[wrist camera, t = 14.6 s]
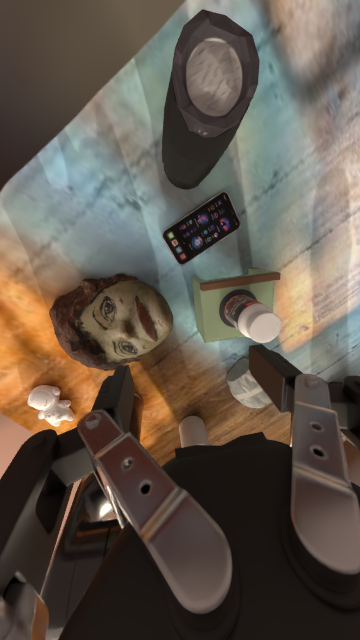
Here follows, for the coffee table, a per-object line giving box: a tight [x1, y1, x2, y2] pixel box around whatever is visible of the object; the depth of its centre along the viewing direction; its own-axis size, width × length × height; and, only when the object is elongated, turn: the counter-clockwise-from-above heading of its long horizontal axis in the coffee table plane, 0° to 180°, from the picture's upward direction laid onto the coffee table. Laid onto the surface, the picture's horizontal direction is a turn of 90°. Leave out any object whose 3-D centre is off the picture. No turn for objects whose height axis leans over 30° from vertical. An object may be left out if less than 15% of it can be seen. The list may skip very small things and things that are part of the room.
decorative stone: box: [226, 358, 271, 408], centre depth 50 cm, size 13×10×6 cm
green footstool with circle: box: [191, 268, 280, 343], centre depth 40 cm, size 12×14×10 cm
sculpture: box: [50, 274, 173, 371], centre depth 39 cm, size 21×10×25 cm
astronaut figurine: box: [27, 385, 75, 426], centre depth 47 cm, size 9×12×3 cm
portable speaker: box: [162, 9, 259, 189], centre depth 26 cm, size 9×9×20 cm
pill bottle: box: [225, 295, 281, 343], centre depth 32 cm, size 6×6×10 cm
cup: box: [179, 416, 210, 447], centre depth 52 cm, size 7×10×9 cm
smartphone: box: [162, 191, 241, 265], centre depth 39 cm, size 8×1×15 cm
